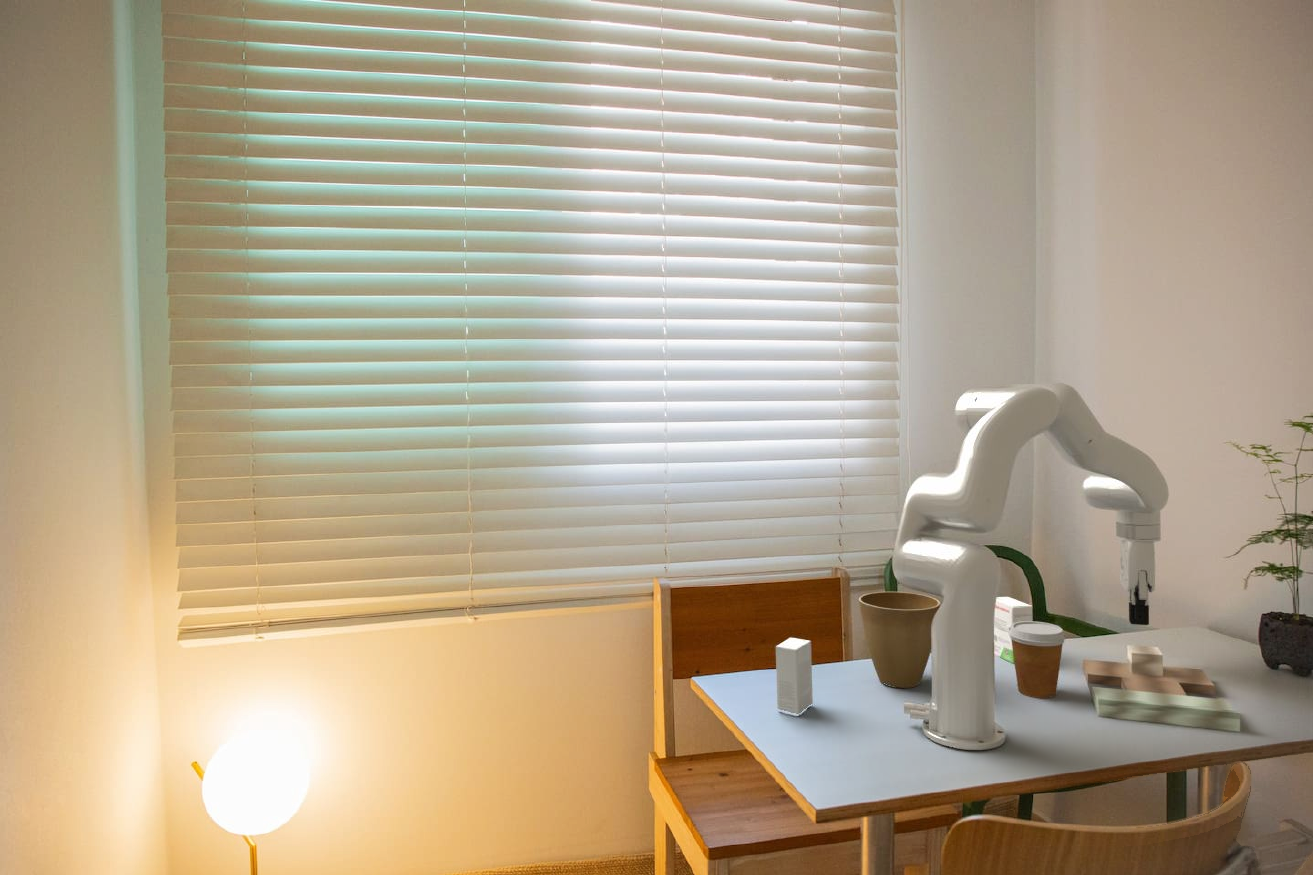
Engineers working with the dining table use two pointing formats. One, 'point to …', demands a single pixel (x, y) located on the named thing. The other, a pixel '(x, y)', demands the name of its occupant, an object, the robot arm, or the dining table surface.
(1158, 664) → the block
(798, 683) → the skincare box
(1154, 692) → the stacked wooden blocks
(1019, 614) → the ink box
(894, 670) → the plant pot
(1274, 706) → the dining table surface
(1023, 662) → the disposable coffee cup
